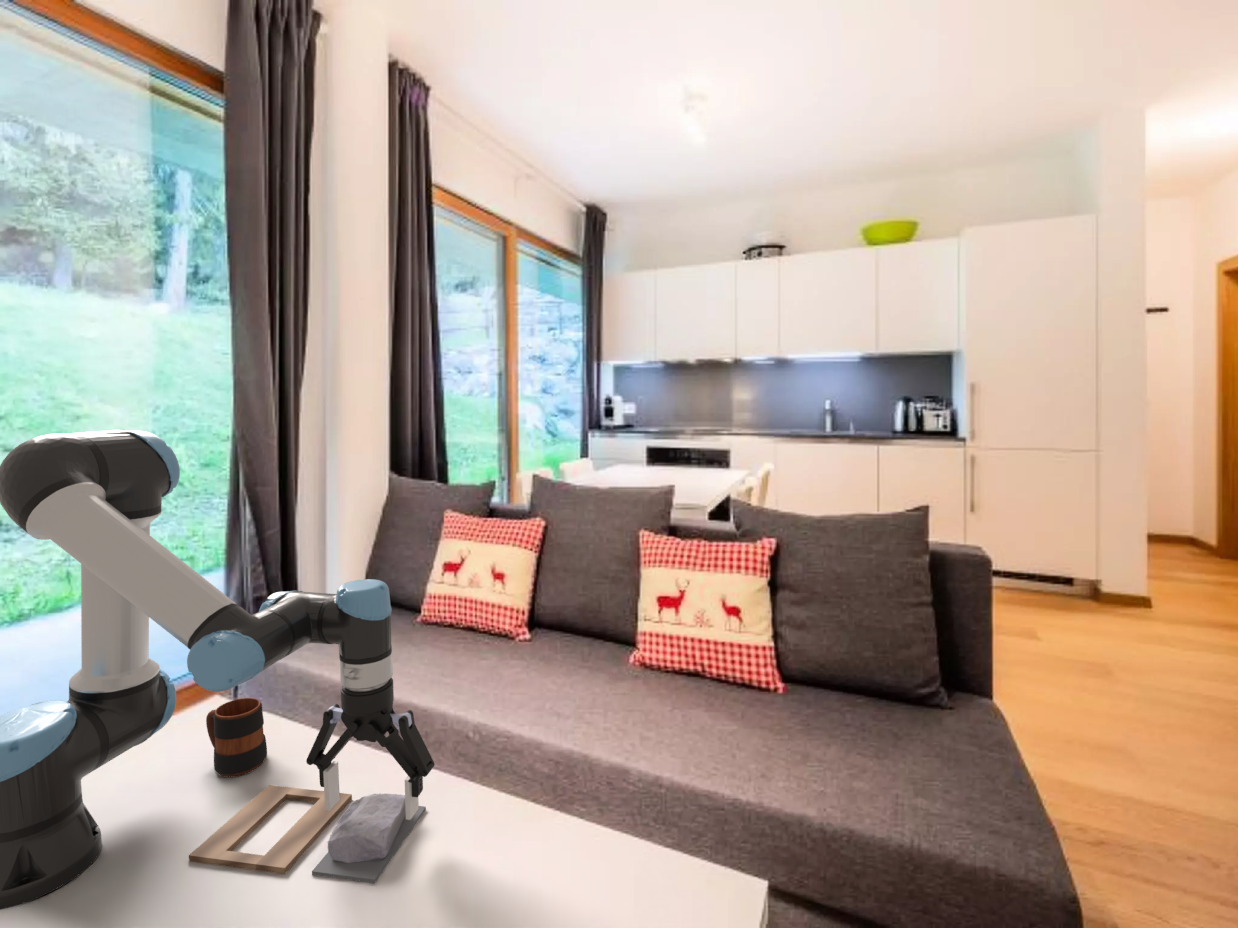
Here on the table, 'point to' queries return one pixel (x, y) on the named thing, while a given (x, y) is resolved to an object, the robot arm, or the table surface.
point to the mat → (366, 869)
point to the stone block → (367, 828)
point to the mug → (237, 737)
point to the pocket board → (254, 814)
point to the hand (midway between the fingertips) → (372, 809)
